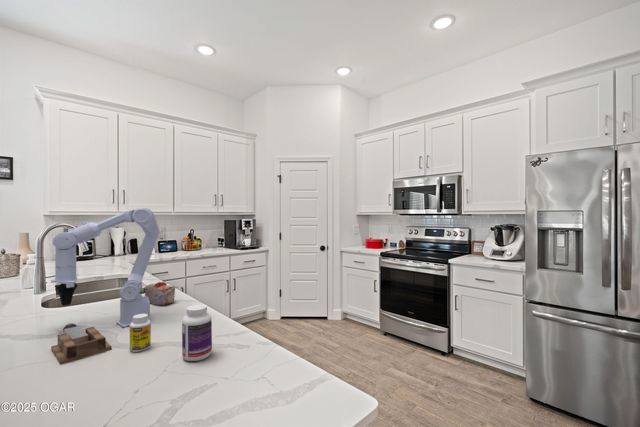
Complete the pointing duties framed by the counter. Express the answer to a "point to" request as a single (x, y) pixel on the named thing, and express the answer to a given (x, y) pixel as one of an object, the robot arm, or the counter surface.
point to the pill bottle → (196, 333)
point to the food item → (160, 293)
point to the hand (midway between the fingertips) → (66, 304)
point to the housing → (80, 346)
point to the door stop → (76, 333)
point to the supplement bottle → (140, 333)
